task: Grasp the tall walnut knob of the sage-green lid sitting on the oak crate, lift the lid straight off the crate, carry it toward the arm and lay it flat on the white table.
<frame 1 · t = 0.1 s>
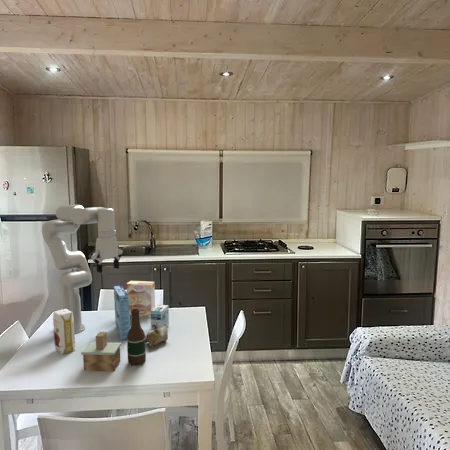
hand: (108, 270, 193), 37 cm above the table, tool pointing down, fingers open, 9 cm apart
gum box: (122, 333, 213), on the table
crate: (102, 366, 176), on the table
juice carton: (65, 350, 192), on the table
light bulb box: (160, 327, 221), on the table
lid: (101, 349, 175), point 7 cm above the table, touching crate
ceramic sculpture: (155, 344, 199), on the table
beer bottle: (136, 362, 180), on the table
coffeecake box: (141, 314, 240), on the table
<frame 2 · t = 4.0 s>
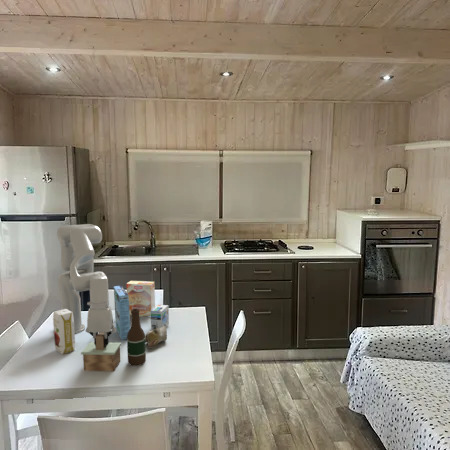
hand: (101, 345, 175), 9 cm above the table, tool pointing down, fingers closed on lid, 3 cm apart
lid: (101, 349, 175), point 8 cm above the table, touching crate, gripper
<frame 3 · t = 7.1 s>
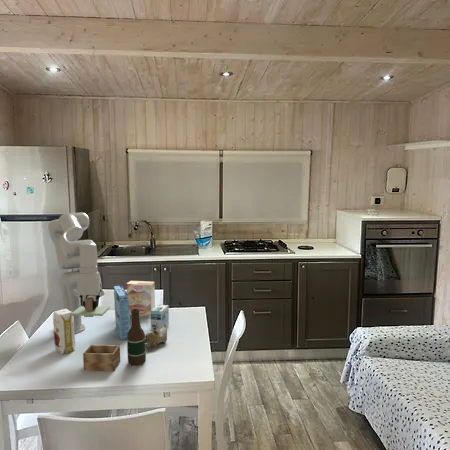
hand: (90, 308, 187), 21 cm above the table, tool pointing down, fingers closed on lid, 3 cm apart
lid: (91, 312, 187), point 20 cm above the table, touching gripper
when the fingers open (4 cm above the table, at t = 10.7 s): lid drops 2 cm, point 1 cm above the table.
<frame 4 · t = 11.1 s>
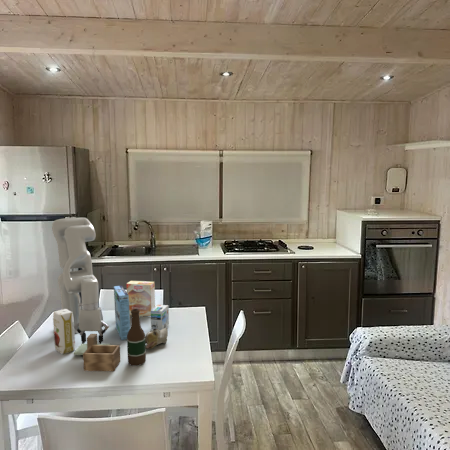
hand: (92, 342, 189), 5 cm above the table, tool pointing down, fingers open, 7 cm apart
lid: (92, 350, 189), point 1 cm above the table
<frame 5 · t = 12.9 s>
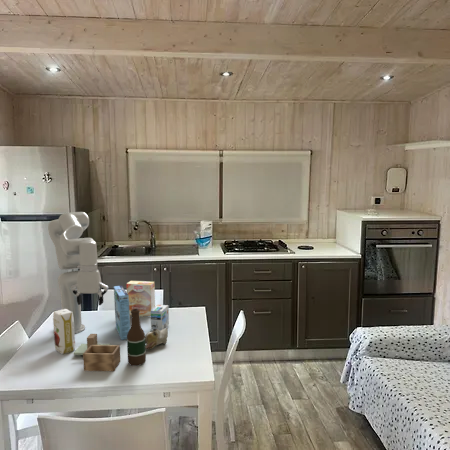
hand: (90, 304, 187), 23 cm above the table, tool pointing down, fingers open, 9 cm apart
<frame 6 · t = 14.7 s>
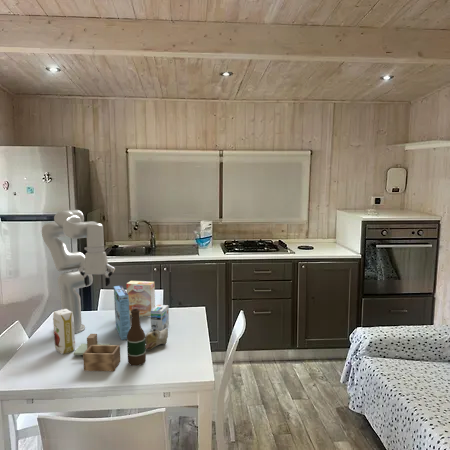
hand: (97, 285, 192), 30 cm above the table, tool pointing down, fingers open, 9 cm apart
at the end: lid inside the target area (0.1 cm from its centre), point 1.2 cm above the table; lid tilted 0°; lid touching table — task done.
